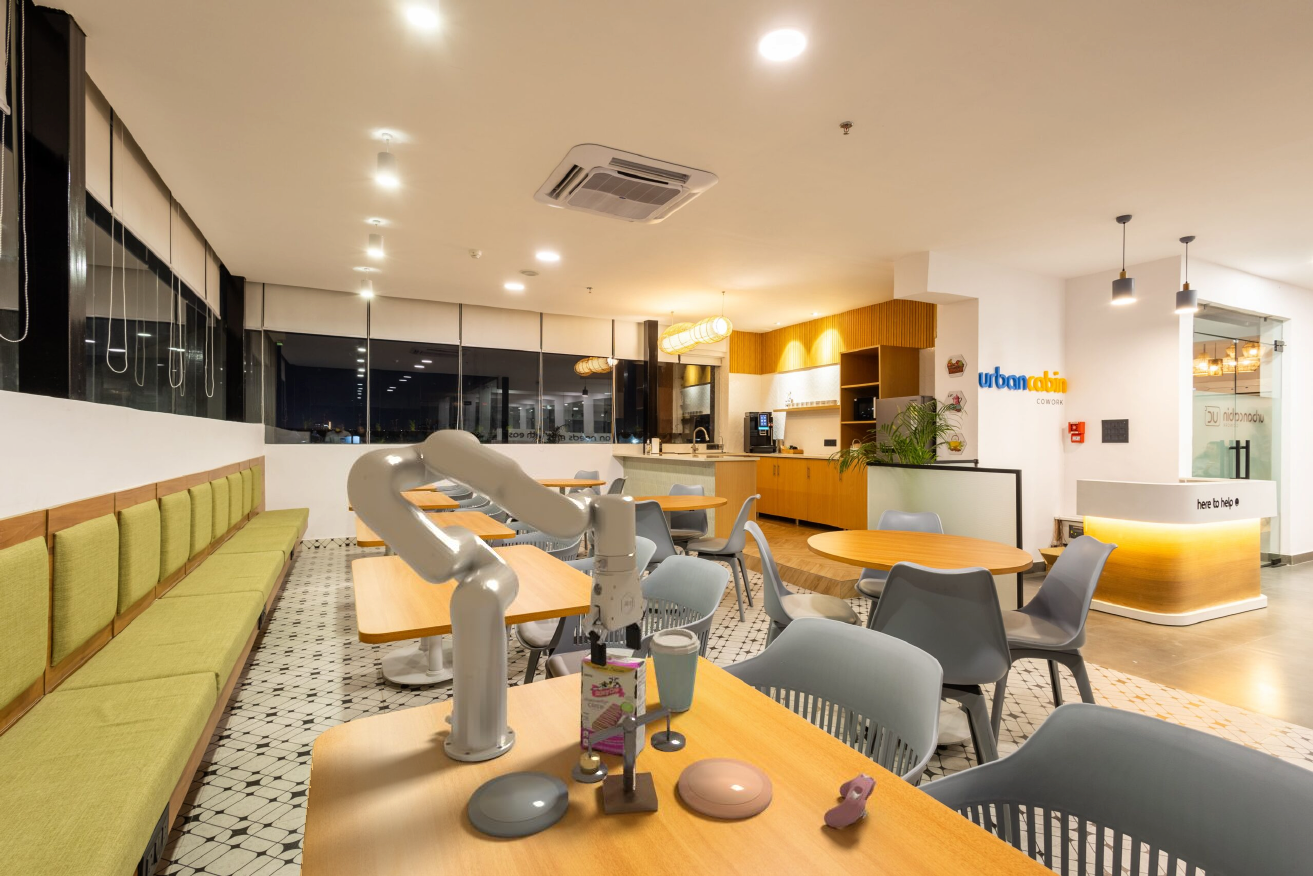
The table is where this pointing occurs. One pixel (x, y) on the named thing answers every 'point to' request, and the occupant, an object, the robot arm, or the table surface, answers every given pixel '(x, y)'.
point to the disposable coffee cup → (675, 667)
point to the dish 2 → (725, 788)
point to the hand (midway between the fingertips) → (616, 656)
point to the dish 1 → (518, 804)
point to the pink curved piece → (851, 802)
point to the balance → (627, 765)
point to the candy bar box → (612, 699)
